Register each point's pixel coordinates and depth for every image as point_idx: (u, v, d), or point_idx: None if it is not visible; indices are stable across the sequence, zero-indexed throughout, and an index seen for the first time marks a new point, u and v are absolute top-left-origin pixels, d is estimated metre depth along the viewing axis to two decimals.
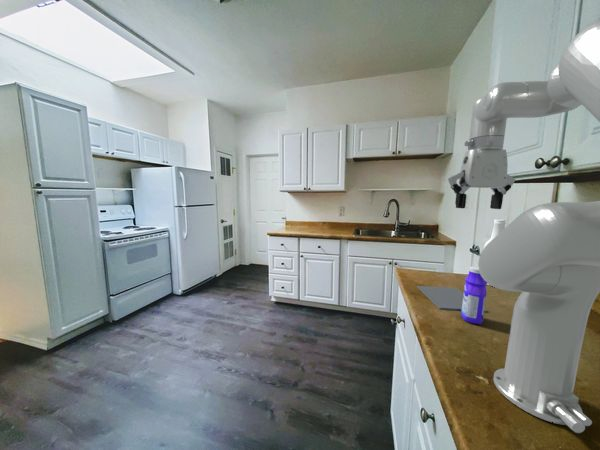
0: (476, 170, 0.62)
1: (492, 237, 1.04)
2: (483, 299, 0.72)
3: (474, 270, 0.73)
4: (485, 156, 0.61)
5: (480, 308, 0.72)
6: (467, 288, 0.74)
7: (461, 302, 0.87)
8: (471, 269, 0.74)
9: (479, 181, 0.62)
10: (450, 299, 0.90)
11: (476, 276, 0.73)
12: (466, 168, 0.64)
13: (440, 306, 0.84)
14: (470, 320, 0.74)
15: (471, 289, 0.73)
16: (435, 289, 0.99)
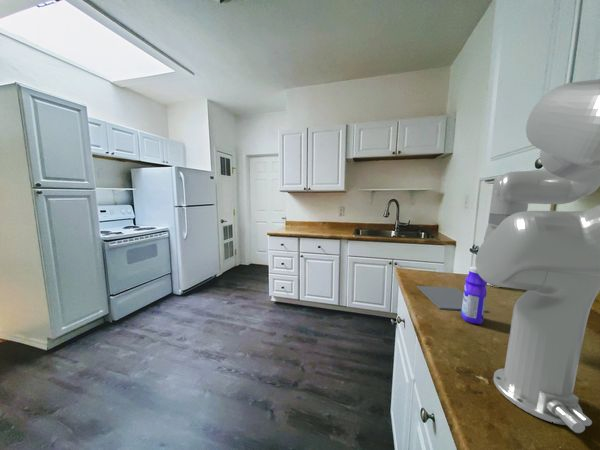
0: None
1: None
2: (483, 299, 0.72)
3: (474, 270, 0.73)
4: None
5: (480, 308, 0.72)
6: (467, 288, 0.74)
7: (461, 302, 0.87)
8: (471, 269, 0.74)
9: None
10: (450, 299, 0.90)
11: (476, 276, 0.73)
12: None
13: (440, 306, 0.84)
14: (470, 320, 0.74)
15: (471, 289, 0.73)
16: (435, 289, 0.99)
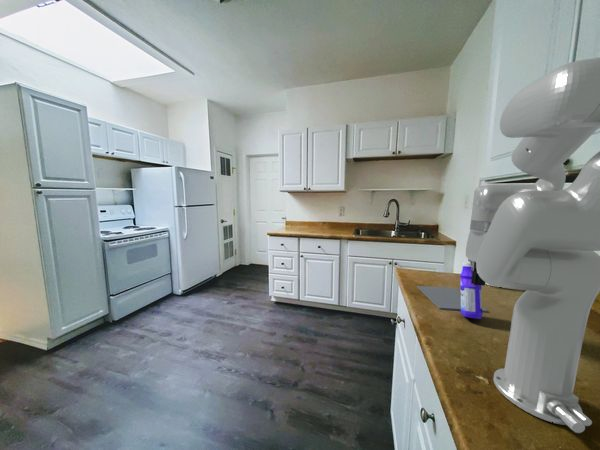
0: None
1: None
2: (479, 291, 0.74)
3: (467, 264, 0.78)
4: None
5: (477, 300, 0.74)
6: (462, 282, 0.77)
7: None
8: (464, 264, 0.79)
9: None
10: (450, 299, 0.90)
11: (469, 269, 0.77)
12: None
13: (440, 306, 0.84)
14: (470, 314, 0.74)
15: (466, 282, 0.76)
16: (435, 289, 0.99)
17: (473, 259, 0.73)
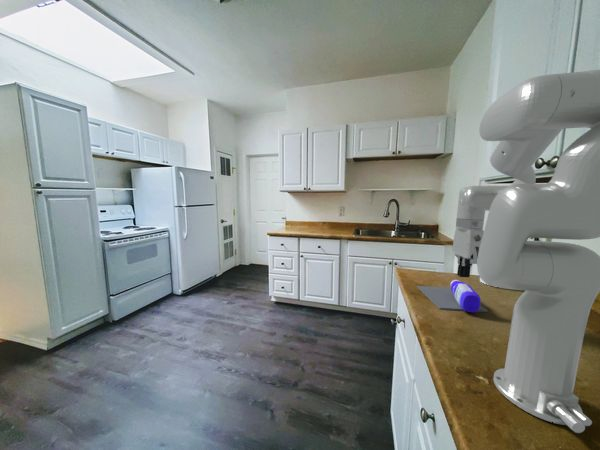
0: None
1: None
2: None
3: (454, 280, 0.94)
4: None
5: (471, 288, 0.83)
6: (454, 285, 0.89)
7: None
8: (452, 281, 0.95)
9: None
10: (450, 299, 0.90)
11: (457, 281, 0.93)
12: (480, 245, 0.75)
13: (440, 306, 0.84)
14: (469, 292, 0.79)
15: (458, 283, 0.89)
16: (435, 289, 0.99)
17: (459, 253, 0.81)
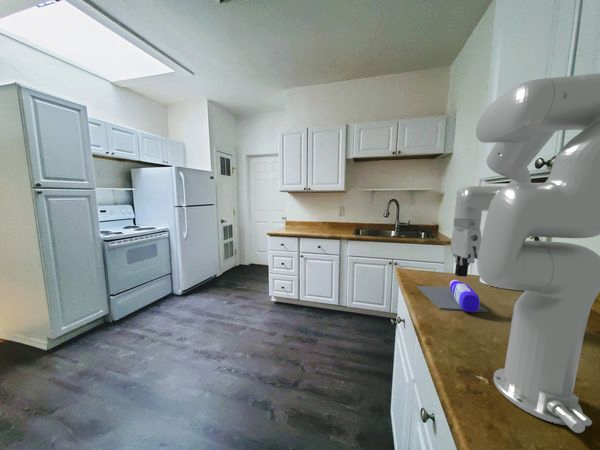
0: None
1: None
2: None
3: (453, 280, 0.95)
4: None
5: (470, 288, 0.83)
6: (453, 285, 0.89)
7: None
8: (451, 282, 0.95)
9: None
10: (450, 299, 0.90)
11: (456, 281, 0.93)
12: (477, 245, 0.76)
13: (440, 306, 0.84)
14: (467, 292, 0.79)
15: (456, 283, 0.89)
16: (435, 289, 0.99)
17: (456, 253, 0.82)
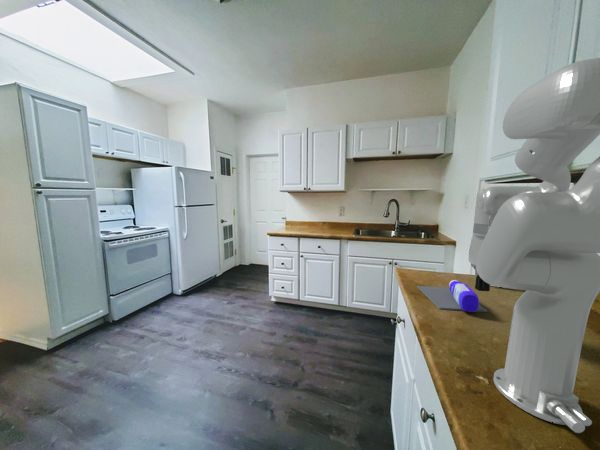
0: None
1: None
2: (467, 285, 0.86)
3: (452, 281, 0.95)
4: None
5: (468, 287, 0.83)
6: (452, 285, 0.89)
7: None
8: (450, 282, 0.95)
9: None
10: (450, 299, 0.90)
11: (455, 281, 0.93)
12: None
13: (440, 306, 0.84)
14: (466, 292, 0.80)
15: (455, 283, 0.89)
16: (435, 289, 0.99)
17: None
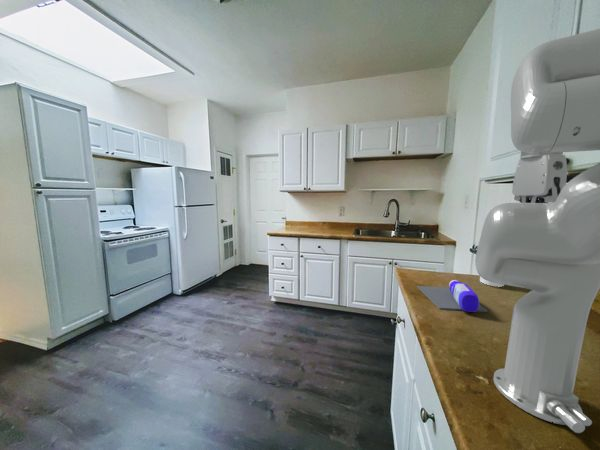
0: None
1: None
2: (467, 285, 0.86)
3: (452, 281, 0.95)
4: None
5: (468, 287, 0.83)
6: (452, 285, 0.89)
7: None
8: (450, 282, 0.95)
9: None
10: (450, 299, 0.90)
11: (455, 281, 0.93)
12: (562, 175, 0.55)
13: (440, 306, 0.84)
14: (466, 292, 0.80)
15: (455, 283, 0.89)
16: (435, 289, 0.99)
17: (525, 193, 0.61)
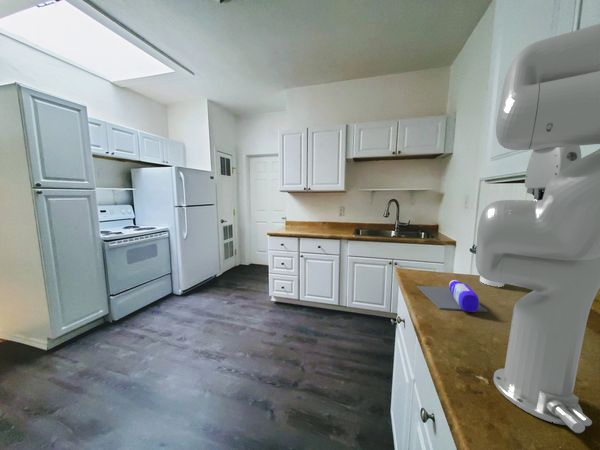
0: None
1: None
2: (467, 285, 0.86)
3: (452, 281, 0.95)
4: None
5: (468, 287, 0.83)
6: (452, 285, 0.89)
7: None
8: (450, 282, 0.95)
9: None
10: (450, 299, 0.90)
11: (455, 281, 0.93)
12: None
13: (440, 306, 0.84)
14: (466, 292, 0.80)
15: (455, 283, 0.89)
16: (435, 289, 0.99)
17: (538, 185, 0.60)
